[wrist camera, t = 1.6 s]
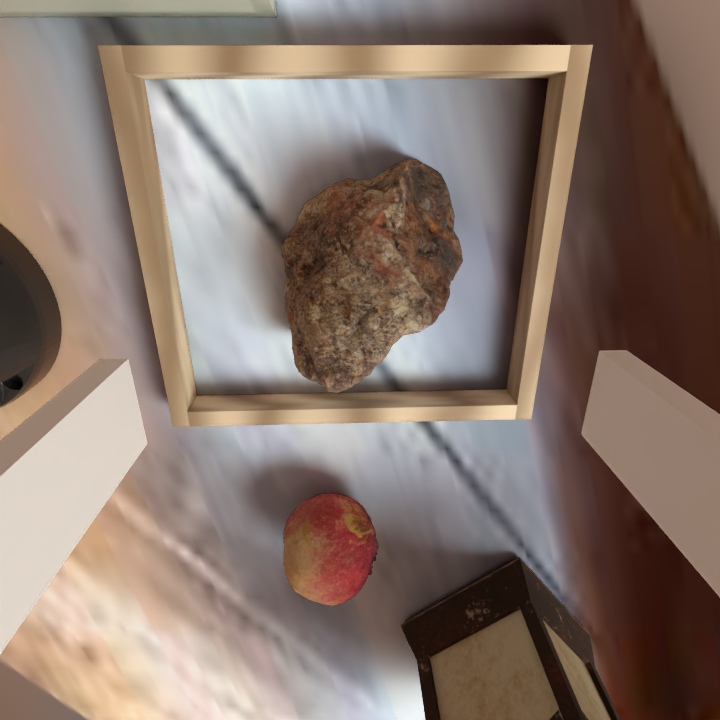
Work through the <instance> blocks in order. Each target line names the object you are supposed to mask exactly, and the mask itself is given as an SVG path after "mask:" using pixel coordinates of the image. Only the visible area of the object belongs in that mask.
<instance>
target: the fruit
mask: <svg viewBox="0 0 720 720" xmlns="http://www.w3.org/2000/svg"><path fill="white" fill-rule="evenodd" d="M283 539H284V563H283V564H284V569H285V573H286V576H287V578H288V581H289V583H290V585H291V587H292V588H293V590H294V591H295V592H297V593H298V594H300V595H302V596H303V597H305V598H307V599H309V600H311V601H313V602H318V603H321V604H324V605H339V604H341V603H343V602H345V601H347V600H349V599H351V598H352V597H354V596H355V595H356V594H357V593H358V591H359V590H360V589H361V588H362V586H363V585H364V583H365V581H366V579H367V578H368V575H371V574H372V570H371V569H372V568H373V567H372V563H373V561H375V560H376V555H377V550H378V544H377V540H376V534H375V529H374V527H373V525H372V522H371V518H370V517H369V515H368V514H367V512H366V510H365V509H364V508H363V506H362V505H360V504H359V503H358V502H357V501H355V500H354V499H351V498H350V497H346V496H344V495H340V494H320V495H317V496H315V497H312V498H310V499H308V500H306V501H305V502H303V503H302V504H301V505H299V506H298V507H297V508H296V509H295V510H294V511H293V512H292V513H291V515H290V517H289V518H288V521H287V523H286V526H285V529H284V537H283Z"/></svg>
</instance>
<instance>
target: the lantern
mask: <svg viewBox="0 0 720 720" xmlns="http://www.w3.org/2000/svg"><path fill="white" fill-rule="evenodd" d="M401 627H402V629H403V632H404V634H405V636H406V639H407V641H408V643H409V645H410V647H411V649H412V651H413V653H414V655H415V657H416V659H417V663H418V670H419V677H420V684H421V691H422V698H423V705H424V712H425V718H426V720H620V717H619V715H618V713H617V711H616V709H615V707H614V705H613V703H612V701H611V699H610V697H609V695H608V693H607V691H606V689H605V687H604V685H603V683H602V681H601V679H600V677H599V675H598V673H597V671H596V669H595V664H594V658H593V651H592V645H591V641H590V636H589V633H588V632H587V631H586V630H585V629H584V628H583V627H582V626H581V625H580V623H579V622H578V621H577V620H576V619H575V618H574V617H573V616H572V615H571V614H570V612H569V611H568V610H567V609H566V608H565V607H564V606H563V605H562V604H561V603H560V601H559V600H558V599H557V598H556V597H555V596H554V595H553V594H552V593H551V592H550V590H549V589H548V588H547V587H546V586H545V585H544V584H543V583H542V582H541V581H540V580H539V578H538V577H537V576H536V575H535V574H534V573H533V572H532V571H531V570H530V569H529V567H528V566H527V565H526V564H525V563H524V562H523V561H522V560H521V559H520V558H515V559H513V560H512V561H510V562H508V563H506V564H504V565H503V566H501V567H499V568H497V569H496V570H494V571H492V572H490V573H489V574H487V575H485V576H483V577H482V578H480V579H478V580H476V581H474V582H473V583H471V584H469V585H467V586H466V587H464V588H462V589H460V590H459V591H457V592H455V593H453V594H452V595H450V596H448V597H446V598H444V599H443V600H441V601H439V602H437V603H436V604H434V605H432V606H430V607H429V608H427V609H425V610H423V611H422V612H420V613H418V614H416V615H414V616H413V617H411V618H409V619H407V620H406V621H405V622H404V623H403V624H401Z"/></svg>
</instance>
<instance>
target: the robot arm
mask: <svg viewBox="0 0 720 720" xmlns="http://www.w3.org/2000/svg"><path fill="white" fill-rule="evenodd" d="M60 342H61V317H60V311H59V307H58V303H57V300H56V297H55V294H54V292H53V289H52V287H51V285H50V283H49V281H48V279H47V277H46V276H45V274H44V272H43V270H42V269H41V267H40V266H39V264H38V263H37V262H36V260H35V259H34V258H33V256H32V255H31V254H30V253H29V251H28V250H27V249H26V248H25V247H24V246H23V245H22V244H21V243H20V242H19V241H18V240H17V239H16V238H15V237H14V236H13V235H12V234H11V233H10V232H8V231H7V230H6V229H5V228H4V227H2V226H1V225H0V408H1V407H3V406H5V405H7V404H9V403H11V402H13V401H14V400H16V399H17V398H19V397H20V396H22V395H23V394H24V393H26V392H27V391H28V390H30V389H31V388H32V387H34V386H35V385H36V384H38V383H39V382H40V381H41V380H42V379H43V378H44V377H45V376H46V374H47V373H48V372H49V370H50V369H51V367H52V366H53V364H54V362H55V360H56V357H57V355H58V351H59V348H60ZM581 434H582V436H583V437H584V438H585V439H586V440H587V442H588V443H589V444H590V445H591V446H592V447H593V449H594V450H595V451H596V452H597V453H598V454H599V456H600V457H601V458H602V459H603V460H604V462H605V463H606V464H607V465H608V466H609V467H610V469H611V470H612V471H613V472H614V473H615V474H616V476H617V477H618V478H619V479H620V480H621V482H622V483H623V484H624V485H625V486H626V487H627V489H628V490H629V491H630V492H631V493H632V494H633V496H634V497H635V498H636V499H637V500H638V502H639V503H640V504H641V505H642V506H643V507H644V509H645V510H646V511H647V512H648V513H649V514H650V516H651V517H652V518H653V519H654V520H655V522H656V523H657V524H658V525H659V526H660V527H661V529H662V530H663V531H664V532H665V533H666V534H667V536H668V537H669V538H670V539H671V540H672V542H673V543H674V544H675V545H676V546H677V547H678V549H679V550H680V551H681V552H682V553H683V554H684V556H685V557H686V558H687V559H688V560H689V562H690V563H691V564H692V565H693V566H694V567H695V569H696V570H697V571H698V572H699V573H700V574H701V576H702V577H703V578H704V579H705V580H706V582H707V583H708V584H709V585H710V586H711V587H712V589H713V590H714V591H715V592H716V593H717V594H718V596H719V597H720V414H718V413H717V412H715V411H714V410H712V409H711V408H709V407H708V406H706V405H705V404H704V403H702V402H701V401H699V400H698V399H696V398H695V397H693V396H692V395H690V394H689V393H688V392H686V391H685V390H683V389H682V388H680V387H679V386H677V385H676V384H674V383H673V382H672V381H670V380H669V379H667V378H666V377H664V376H663V375H661V374H660V373H659V372H657V371H656V370H654V369H653V368H651V367H650V366H648V365H647V364H645V363H644V362H643V361H641V360H640V359H638V358H637V357H635V356H634V355H632V354H631V353H629V352H628V351H627V350H613V351H599V355H598V359H597V364H596V368H595V373H594V378H593V382H592V387H591V391H590V396H589V401H588V405H587V410H586V414H585V419H584V424H583V428H582V433H581ZM146 445H147V439H146V435H145V431H144V426H143V422H142V417H141V413H140V409H139V404H138V400H137V395H136V391H135V387H134V382H133V378H132V373H131V369H130V365H129V360H128V359H100V360H99V361H97V362H96V363H95V364H94V365H92V366H91V367H90V368H89V369H88V370H86V371H85V372H84V373H83V374H81V375H80V376H79V377H78V378H77V379H75V380H74V381H73V382H72V383H70V384H69V385H68V386H67V387H66V388H64V389H63V390H62V391H61V392H59V393H58V394H57V395H56V396H55V397H53V398H52V399H51V400H50V401H48V402H47V403H46V404H45V405H43V406H42V407H41V408H40V409H39V410H37V411H36V412H35V413H34V414H32V415H31V416H30V417H29V418H28V419H26V420H25V421H24V422H23V423H21V424H20V425H19V426H18V427H17V428H15V429H14V430H13V431H12V432H10V433H9V434H8V435H7V436H6V437H4V438H3V439H2V440H1V441H0V654H1V652H2V651H3V650H4V648H5V647H6V645H7V644H8V642H9V641H10V640H11V638H12V637H13V635H14V634H15V632H16V631H17V629H18V628H19V627H20V625H21V624H22V622H23V621H24V619H25V618H26V617H27V615H28V614H29V612H30V611H31V609H32V608H33V607H34V605H35V604H36V602H37V601H38V599H39V598H40V597H41V595H42V594H43V592H44V591H45V589H46V588H47V586H48V585H49V584H50V582H51V581H52V579H53V578H54V576H55V575H56V574H57V572H58V571H59V569H60V568H61V566H62V565H63V564H64V562H65V561H66V559H67V558H68V556H69V555H70V554H71V552H72V551H73V549H74V548H75V546H76V545H77V543H78V542H79V541H80V539H81V538H82V536H83V535H84V533H85V532H86V531H87V529H88V528H89V526H90V525H91V523H92V522H93V521H94V519H95V518H96V516H97V515H98V513H99V512H100V511H101V509H102V508H103V506H104V505H105V503H106V502H107V500H108V499H109V498H110V496H111V495H112V493H113V492H114V490H115V489H116V488H117V486H118V485H119V483H120V482H121V480H122V479H123V478H124V476H125V475H126V473H127V472H128V470H129V469H130V467H131V466H132V465H133V463H134V462H135V460H136V459H137V457H138V456H139V455H140V453H141V452H142V450H143V449H144V447H145V446H146Z"/></svg>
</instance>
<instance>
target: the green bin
mask: <svg viewBox="0 0 720 720" xmlns="http://www.w3.org/2000/svg"><path fill="white" fill-rule="evenodd" d="M0 17H277V10H276V0H0Z"/></svg>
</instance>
